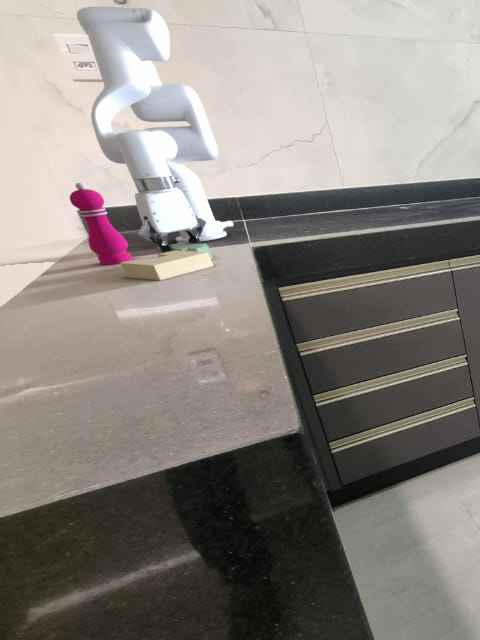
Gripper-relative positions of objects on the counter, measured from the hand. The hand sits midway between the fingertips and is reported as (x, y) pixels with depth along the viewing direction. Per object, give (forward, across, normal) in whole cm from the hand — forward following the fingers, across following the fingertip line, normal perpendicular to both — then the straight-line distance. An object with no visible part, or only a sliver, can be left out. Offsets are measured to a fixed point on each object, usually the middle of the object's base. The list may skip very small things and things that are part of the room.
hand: (185, 256), depth 138 cm
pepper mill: (+1, +6, -18) cm, 19 cm away
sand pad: (+1, +10, +10) cm, 14 cm away
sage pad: (+1, 0, +2) cm, 2 cm away
